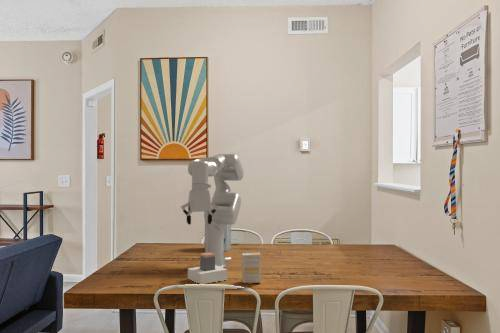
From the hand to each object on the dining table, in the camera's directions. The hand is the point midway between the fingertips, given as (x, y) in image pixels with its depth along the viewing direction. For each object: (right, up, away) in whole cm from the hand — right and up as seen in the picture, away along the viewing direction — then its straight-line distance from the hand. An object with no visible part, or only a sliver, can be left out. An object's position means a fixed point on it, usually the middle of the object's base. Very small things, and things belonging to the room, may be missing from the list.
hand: (199, 223), depth 188 cm
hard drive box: (+3, -26, +68) cm, 73 cm away
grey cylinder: (+4, -26, -2) cm, 26 cm away
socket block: (+4, -26, -2) cm, 26 cm away
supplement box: (+24, -26, -6) cm, 36 cm away
